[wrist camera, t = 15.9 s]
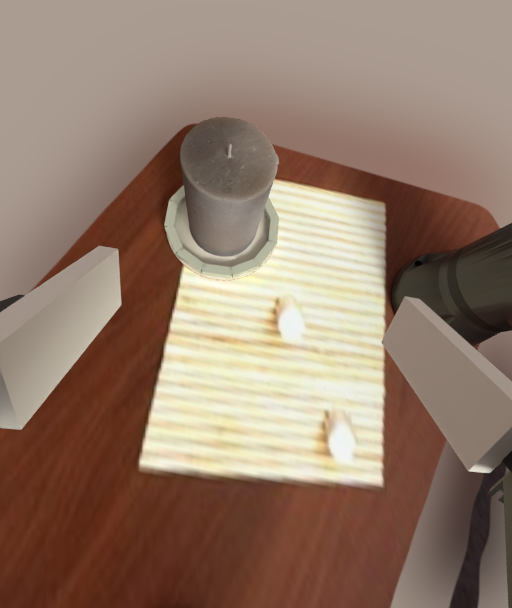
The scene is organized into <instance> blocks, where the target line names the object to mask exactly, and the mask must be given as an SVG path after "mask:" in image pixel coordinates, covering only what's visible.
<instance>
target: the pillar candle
mask: <svg viewBox="0 0 512 608" xmlns="http://www.w3.org/2000/svg"><path fill="white" fill-rule="evenodd" d="M278 161H279V159H278V156H277V154H276V153H275V150H274V148H273V145H272V144H271V142H270V141H269V139H268V138H267V137H266V135H264V133H263V132H261V131H260V130H259V129H258V128H256V127H255V126H254V125H252V124H251V123H248V122H246V121H243V120H240V119H235V118H227V117H216V118H212V119H208V120H205V121H203V122H200V123H199V124H197V125H196V126H194V127H193V128H192V129H191V130H190V131H189V132H188V133H187V134H186V136H185V138H184V140H183V142H182V144H181V148H180V163H181V170H182V177H183V184H184V190H185V199H186V207H187V214H188V221H189V228H190V232H191V235H192V237H193V239H194V241H195V242H196V244H197V245H198V246H199V247H200V248H202V249H203V250H204V251H206V252H208V253H210V254H212V255H216V256H221V257H228V256H234V255H237V254H239V253H241V252H243V251H244V250H246V249H247V247H248V246H249V245H250V244H251V243H252V241H253V239H254V238H255V235H256V232H257V229H258V226H259V223H260V221H261V218H262V214H263V211H264V208H265V205H266V202H267V199H268V196H269V193H270V190H271V187H272V184H273V181H274V178H275V175H276V173H277V165H278V164H279V162H278Z"/></svg>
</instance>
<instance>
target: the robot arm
mask: <svg viewBox="0 0 512 608" xmlns="http://www.w3.org/2000/svg"><path fill="white" fill-rule="evenodd" d="M392 305H393V309H394V312H395V316H394V318H393V320H392V322H391V324H390V326H389V328H388V330H387V332H386V334H385V336H384V338H383V340H382V344H383V345H384V347H385V348H386V350H387V351H388V353H389V354H390V356H391V357H392V359H393V360H394V362H395V363H396V365H397V366H398V368H399V369H400V371H401V372H402V374H403V375H404V377H405V378H406V380H407V381H408V383H409V384H410V385H411V387H412V388H413V390H414V391H415V393H416V394H417V396H418V397H419V399H420V400H421V402H422V403H423V405H424V406H425V408H426V409H427V411H428V412H429V414H430V415H431V417H432V418H433V420H434V421H435V423H436V424H437V426H438V427H439V428H440V430H441V431H442V433H443V434H444V436H445V437H446V439H447V440H448V442H449V443H450V445H451V446H452V448H453V449H454V451H455V452H456V454H457V455H458V457H459V458H460V460H461V461H462V463H463V464H464V466H465V467H466V469H467V470H468V471H473V472H483V473H490V472H492V471H493V470H494V469H495V468H496V467H497V466H498V465H499V464H500V463H501V462H502V461H503V463H504V464H505V465H506V466H507V468H508V469H509V470H510V471H509V472H508V473H507V474H506V475H505V476H504V477H503V478H501V479H500V480H499V481H498V482H497V483H496V484H495V485H494V486H493V487H492V488H490V490H489V493H488V494H490V495H492V496H493V495H494V494H495V493H496V492H498V491H501V492H503V493H504V495H503V496H502V497H501V498H499V501H501V502H502V503H504V514H505V515H504V516H505V537H506V560H507V583H508V604H509V608H512V381H510V380H509V379H508V378H507V377H506V376H505V375H504V374H503V373H501V372H500V371H499V370H498V369H497V368H496V367H495V366H494V365H493V364H491V363H490V362H489V361H488V360H487V359H486V358H485V357H484V356H483V355H481V354H480V353H479V352H478V351H477V350H476V349H475V348H474V346H476V345H478V344H480V343H481V342H483V341H485V340H487V339H489V338H491V337H493V336H495V335H497V334H498V333H500V332H505V331H511V330H512V223H511V224H509V225H507V226H505V227H503V228H501V229H499V230H497V231H495V232H493V233H490V234H488V235H486V236H484V237H482V238H480V239H478V240H476V241H474V242H472V243H470V244H468V245H466V246H464V247H462V248H460V249H453V250H447V251H440V252H433V253H428V254H424V255H421V256H419V257H417V258H415V259H414V260H412V261H410V262H408V263H407V264H405V265H404V266H403V267H402V268H401V269H400V270H399V272H398V273H397V275H396V277H395V279H394V282H393V285H392ZM120 306H121V290H120V273H119V255H118V249H115V248H109V247H103V246H98V247H97V248H95V249H94V250H92V251H91V252H89V253H88V254H86V255H85V256H83V257H82V258H80V259H79V260H77V261H76V262H74V263H73V264H72V265H70V266H69V267H67V268H66V269H64V270H63V271H61V272H60V273H58V274H57V275H55V276H54V277H52V278H51V279H49V280H48V281H46V282H45V283H43V284H42V285H40V286H39V287H37V288H36V289H34V290H33V291H31V292H30V293H28V294H27V295H17V296H14V297H11V298H8V299H5V300H3V301H0V428H9V429H19V430H21V429H22V428H23V427H24V426H25V424H26V423H27V422H28V421H29V419H30V418H31V417H32V416H33V414H34V413H35V412H36V411H37V409H38V408H39V407H40V406H41V404H42V403H43V402H44V401H45V399H46V398H47V397H48V396H49V394H50V393H51V392H52V391H53V389H54V388H55V387H56V386H57V384H58V383H59V382H60V381H61V379H62V378H63V377H64V376H65V374H66V373H67V372H68V371H69V369H70V368H71V367H72V366H73V364H74V363H75V362H76V361H77V359H78V358H79V357H80V356H81V354H82V353H83V352H84V351H85V349H86V348H87V347H88V346H89V344H90V343H91V342H92V341H93V339H94V338H95V337H96V336H97V334H98V333H99V332H100V331H101V329H102V328H103V327H104V326H105V324H106V323H107V322H108V321H109V319H110V318H111V317H112V316H113V315H114V313H115V312H116V311H117V310H118V308H119V307H120Z"/></svg>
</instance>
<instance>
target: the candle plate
mask: <svg viewBox="0 0 512 608" xmlns="http://www.w3.org/2000/svg"><path fill="white" fill-rule="evenodd" d="M278 222H279V218H278V215H277V213H276V211H275V209H274V207H273V205H272V203H271V201H270V199H269V197H268V199H267V202H266V205H265V208H264V211H263V214H262V218H261V221H260V223H259V226H258V229H257V232H256V235H255V238H254V239H253V241H252V243H251V244H250V245H249V246H248V247H247V249H246V250H244V251H243V252H241V253H239V254H237V255H234V256H228V257H221V256H216V255H212V254H210V253H208V252H206V251H204V250H203V249H202V248H200V247H199V246H198V245H197V244H196V242H195V241H194V239H193V237H192V235H191V232H190V228H189V221H188V214H187V207H186V199H185V190H184V185H183V186H182V187H181V188H180V189H179V190H178V191H177V192H176V193H175V194H174V195H173V196H172V197H171V198H170V200H169V203H168V209H167V214H166V219H165V224H164V226H165V230H166V233H167V238H168V241H169V244H170V247H171V249H172V251H173V253H174V254H175V256H176V257H177V258H178V260H179V261H180V262H181V263H182V264H183V265H184V266H186V267H187V268H188V269H189V270H191V271H193V272H194V273H196V274H198V275H200V276H203V277H206V278H209V279H214V280H223V281H225V280H235V279H240V278H243V277H246V276H248V275H250V274H252V273H254V272H255V271H257V270H258V269H259V268H261V267H262V266H263V265H264V264H265V263H266V261H267V260H268V259H269V257H270V256H271V254H272V251H273V249H274V248H275V246H276V244H277V235H278Z"/></svg>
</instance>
